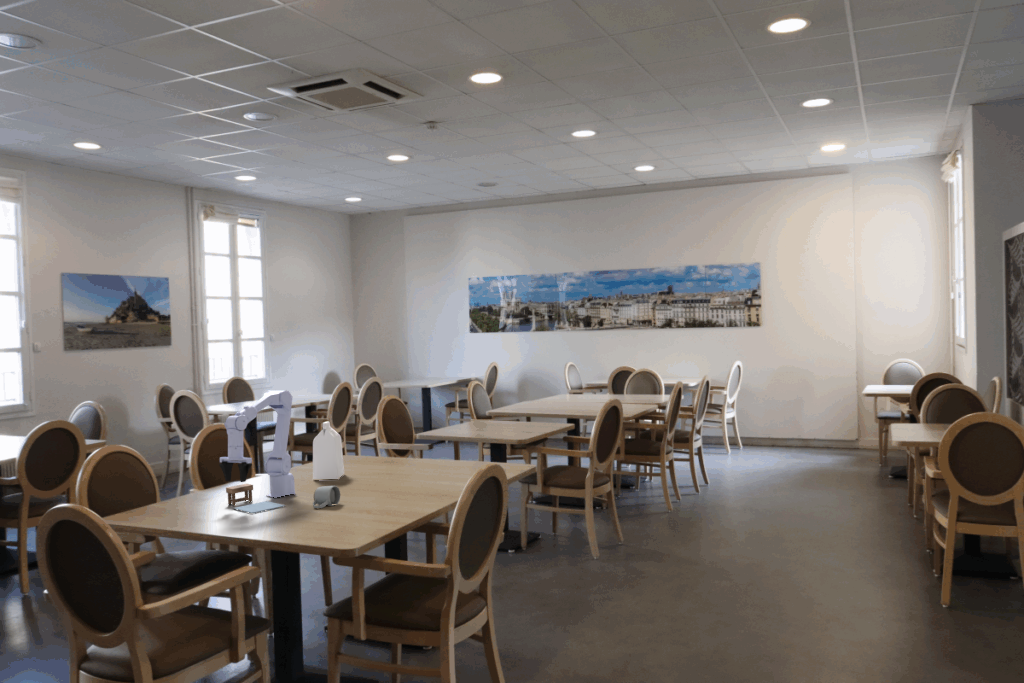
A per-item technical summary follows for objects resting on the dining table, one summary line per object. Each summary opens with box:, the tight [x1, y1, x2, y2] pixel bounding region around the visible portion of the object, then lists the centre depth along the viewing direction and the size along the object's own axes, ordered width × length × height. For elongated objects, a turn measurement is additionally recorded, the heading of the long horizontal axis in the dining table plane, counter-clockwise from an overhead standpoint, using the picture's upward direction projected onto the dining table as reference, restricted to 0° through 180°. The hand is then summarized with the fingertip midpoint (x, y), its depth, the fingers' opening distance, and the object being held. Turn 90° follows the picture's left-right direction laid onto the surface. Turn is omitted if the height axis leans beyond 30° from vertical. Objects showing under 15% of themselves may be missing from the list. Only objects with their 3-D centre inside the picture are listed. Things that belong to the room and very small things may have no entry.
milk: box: [312, 421, 345, 480], centre depth 357 cm, size 12×12×26 cm
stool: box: [225, 483, 254, 506], centre depth 309 cm, size 9×5×7 cm, turn 137°
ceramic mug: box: [312, 485, 341, 509], centre depth 297 cm, size 11×8×8 cm
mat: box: [234, 500, 286, 514], centre depth 298 cm, size 14×14×1 cm
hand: (235, 481), depth 299 cm, fingers open, 7 cm apart
